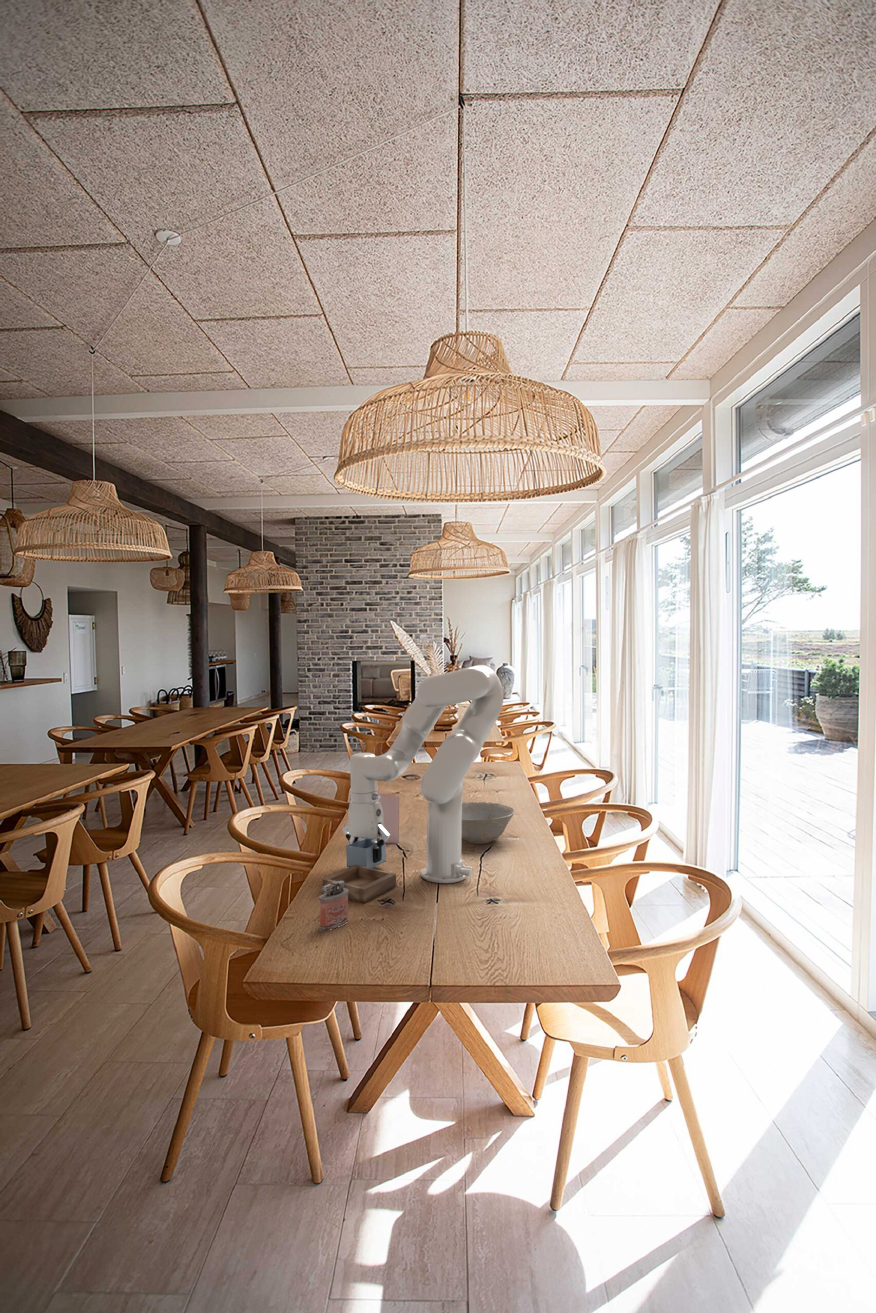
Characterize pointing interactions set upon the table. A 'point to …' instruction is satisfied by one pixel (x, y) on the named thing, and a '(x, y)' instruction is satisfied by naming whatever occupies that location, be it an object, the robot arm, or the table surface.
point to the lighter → (333, 906)
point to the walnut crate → (363, 882)
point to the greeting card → (390, 816)
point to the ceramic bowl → (484, 821)
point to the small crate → (363, 854)
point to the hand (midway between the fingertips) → (366, 859)
